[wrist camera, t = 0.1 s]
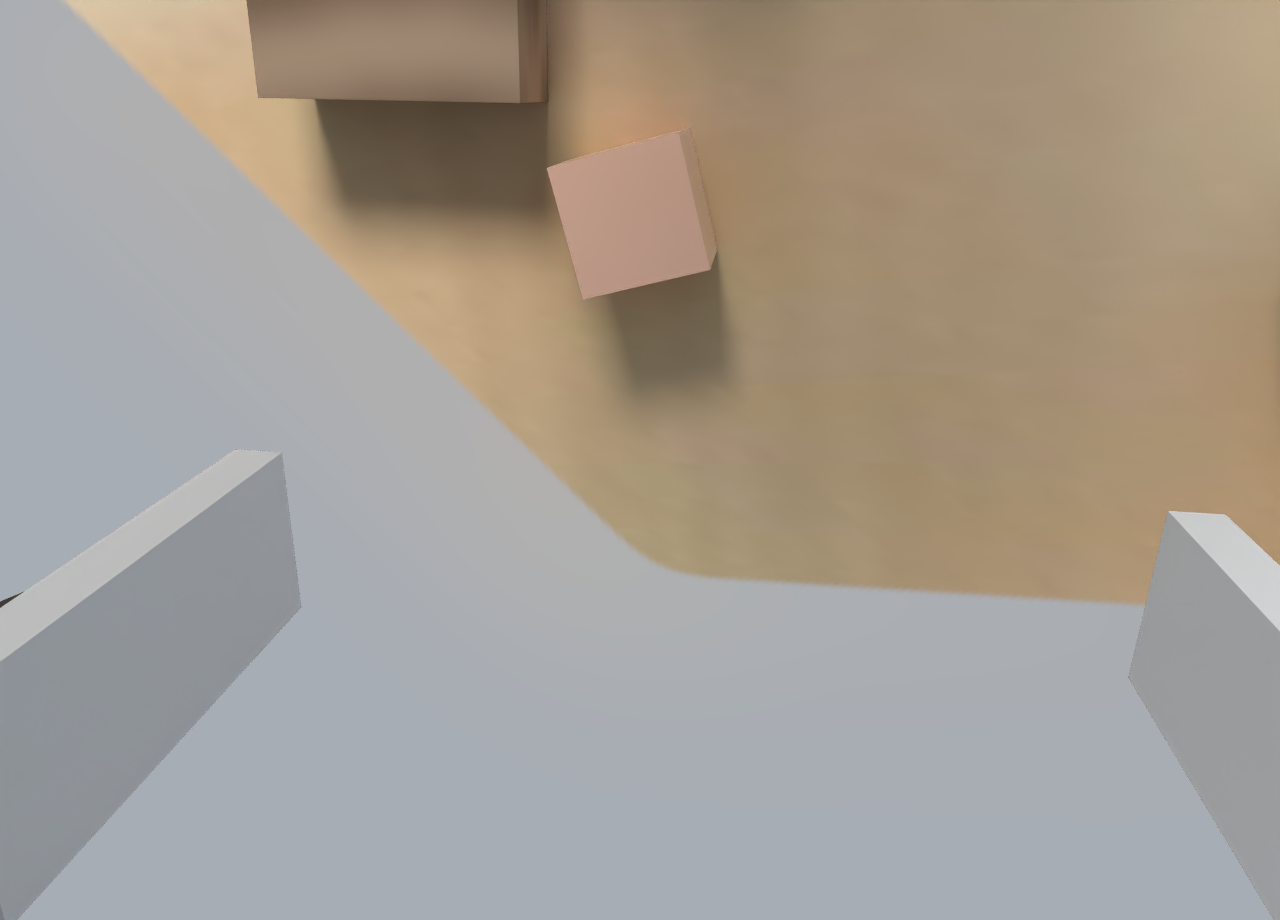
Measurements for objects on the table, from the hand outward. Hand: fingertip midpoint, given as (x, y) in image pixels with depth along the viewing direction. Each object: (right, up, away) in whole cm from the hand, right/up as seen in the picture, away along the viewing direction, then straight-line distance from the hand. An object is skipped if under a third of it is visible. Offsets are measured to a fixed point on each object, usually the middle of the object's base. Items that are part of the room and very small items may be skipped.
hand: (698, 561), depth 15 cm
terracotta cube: (-1, +12, +26) cm, 28 cm away
